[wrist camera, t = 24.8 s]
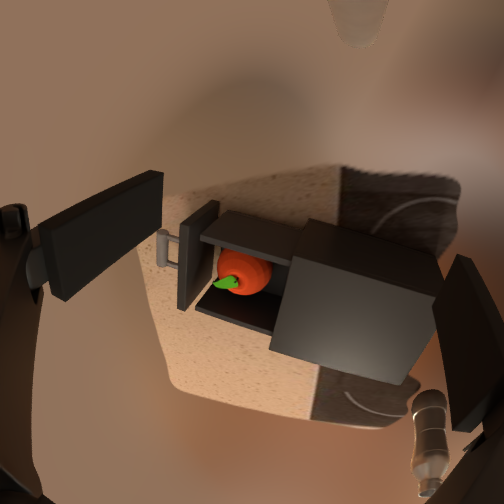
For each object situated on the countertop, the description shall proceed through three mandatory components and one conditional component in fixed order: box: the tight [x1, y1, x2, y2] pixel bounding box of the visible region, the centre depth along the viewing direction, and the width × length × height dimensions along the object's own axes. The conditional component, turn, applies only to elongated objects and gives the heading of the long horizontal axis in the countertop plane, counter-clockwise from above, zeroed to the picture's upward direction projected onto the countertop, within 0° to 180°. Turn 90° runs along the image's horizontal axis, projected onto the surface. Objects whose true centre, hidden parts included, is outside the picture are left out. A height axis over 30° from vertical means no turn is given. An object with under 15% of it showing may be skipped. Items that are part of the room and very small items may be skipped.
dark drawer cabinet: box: [269, 218, 444, 385], centre depth 38 cm, size 18×14×11 cm
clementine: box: [212, 248, 273, 295], centre depth 41 cm, size 8×7×7 cm
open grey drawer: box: [157, 200, 304, 336], centre depth 41 cm, size 22×12×9 cm, turn 82°
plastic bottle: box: [410, 389, 450, 497], centre depth 39 cm, size 6×7×20 cm
